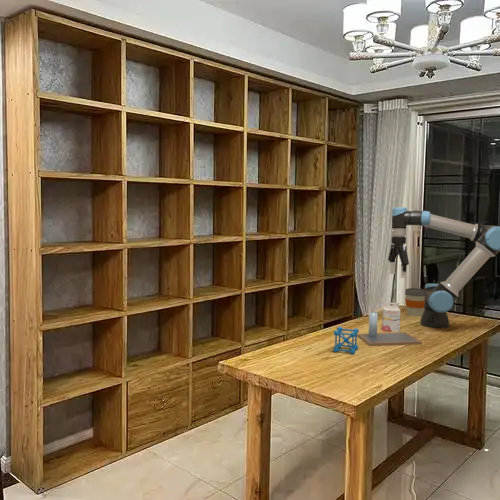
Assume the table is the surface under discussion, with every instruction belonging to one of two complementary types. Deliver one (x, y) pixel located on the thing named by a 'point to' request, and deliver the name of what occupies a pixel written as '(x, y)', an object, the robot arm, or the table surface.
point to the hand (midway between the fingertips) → (397, 275)
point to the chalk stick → (373, 324)
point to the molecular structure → (346, 340)
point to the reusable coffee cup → (415, 301)
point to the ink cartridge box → (391, 317)
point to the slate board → (389, 339)
